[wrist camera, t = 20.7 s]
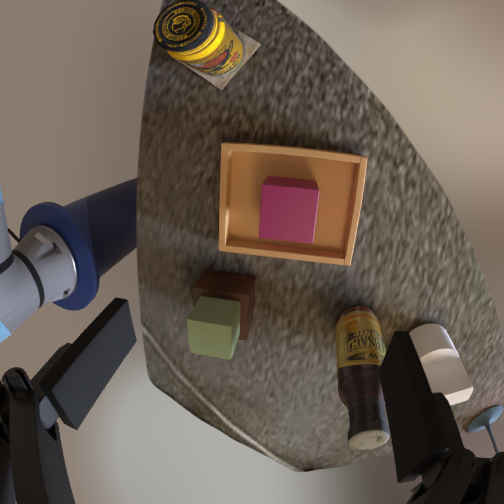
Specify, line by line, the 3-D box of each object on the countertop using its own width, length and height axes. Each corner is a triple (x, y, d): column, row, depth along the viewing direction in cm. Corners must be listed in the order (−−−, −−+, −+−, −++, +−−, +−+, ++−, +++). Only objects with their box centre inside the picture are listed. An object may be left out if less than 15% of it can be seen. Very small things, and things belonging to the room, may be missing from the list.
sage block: (201, 327, 37) (189, 352, 33) (200, 295, 35) (186, 319, 31) (239, 333, 37) (231, 360, 32) (240, 301, 35) (231, 326, 30)
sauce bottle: (382, 306, 37) (419, 423, 19) (367, 340, 40) (388, 455, 22) (339, 299, 38) (355, 422, 20) (326, 334, 41) (330, 454, 23)
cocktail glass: (479, 438, 49) (497, 506, 26) (441, 439, 49) (457, 520, 26) (523, 396, 41) (552, 467, 18) (491, 392, 41) (524, 479, 19)
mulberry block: (264, 221, 35) (258, 237, 30) (268, 175, 33) (261, 184, 28) (311, 226, 34) (312, 243, 29) (316, 180, 32) (319, 189, 27)
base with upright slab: (395, 370, 42) (409, 426, 31) (399, 329, 38) (420, 388, 28) (442, 359, 40) (463, 411, 29) (450, 318, 36) (480, 370, 26)
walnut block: (205, 311, 42) (195, 332, 38) (204, 269, 40) (192, 287, 35) (252, 318, 42) (246, 340, 37) (255, 275, 39) (249, 295, 34)
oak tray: (224, 242, 38) (218, 250, 35) (227, 142, 32) (221, 143, 30) (347, 256, 36) (350, 266, 33) (362, 155, 31) (367, 157, 28)
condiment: (222, 90, 30) (183, 72, 19) (171, 56, 29) (117, 33, 18) (262, 45, 27) (241, 5, 16) (207, 13, 26) (167, -28, 15)
